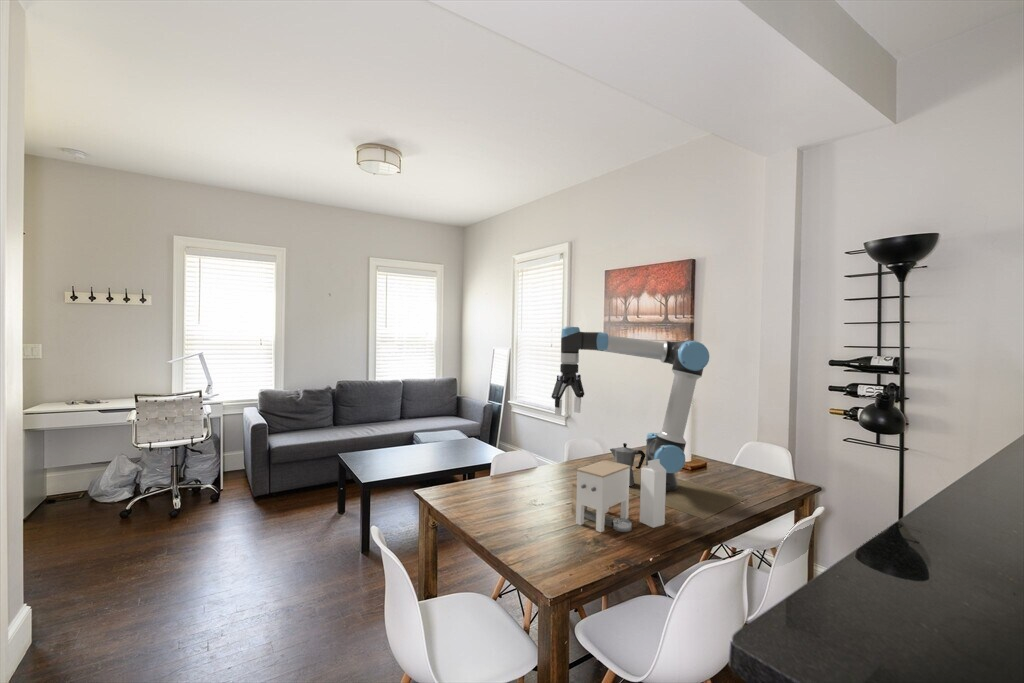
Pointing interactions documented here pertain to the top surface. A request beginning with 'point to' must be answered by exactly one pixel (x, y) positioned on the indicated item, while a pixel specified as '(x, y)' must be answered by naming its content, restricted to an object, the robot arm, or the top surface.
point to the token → (622, 524)
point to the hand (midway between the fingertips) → (567, 413)
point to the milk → (653, 494)
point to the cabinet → (602, 490)
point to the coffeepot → (628, 458)
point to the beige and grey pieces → (587, 513)
